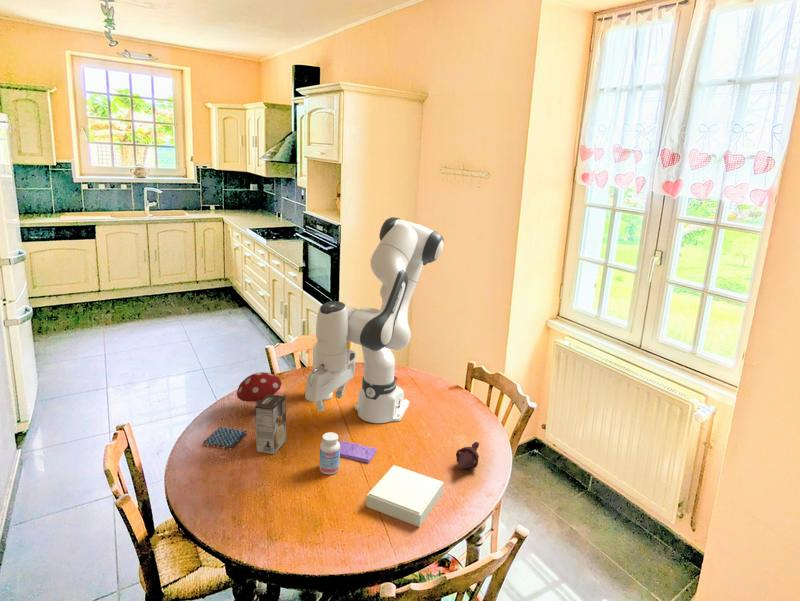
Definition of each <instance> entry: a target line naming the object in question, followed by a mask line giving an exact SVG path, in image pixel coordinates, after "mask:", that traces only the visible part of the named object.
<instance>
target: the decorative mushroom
mask: <svg viewBox="0 0 800 601" xmlns="http://www.w3.org/2000/svg"><path fill="white" fill-rule="evenodd" d="M282 384H283V383H282V381H281V378H280V377H279V376H277V375H275V374H273V373H271V372H263V371H261V372H256V373H252V374H250V375H249V376H246V378H244V380H242V381H241V382H240V384H239V385H238V387H237V389H236V390H237V391H236V395H237V396H236V398H238V400H240V401H242V402H247V403H248V402H249V403H250V402H251V403H252V402H256V405H257V404H258V403H259V402H260V401H261V400H262V399H263V398H264V397H265V396H266V395H267V394H272V395H276V393H278V391H279V390H280V389H281V387H282ZM256 405H255V406H256Z"/></svg>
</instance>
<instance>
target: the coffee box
mask: <svg viewBox="0 0 800 601" xmlns="http://www.w3.org/2000/svg"><path fill="white" fill-rule="evenodd" d="M286 403H287V399H286V395H280V394H279V395H278V394H274V395H272V394H267V395H266V396H265V397H264V398H263V399H262V400H261V401H260V402H259V403H258V404H257V405H255V406H254V417H255V420H254V421H255V438H256V439H255V441H256V443H255V444H256V452H258V453H264V454H271V455H275V454H276V453H277V452H278V451H279V449H280V448H281V447H282V446H283V444H284V443H285V442H286V441H287V412H286V411H287V408H286V407H287V406H286V405H287V404H286Z"/></svg>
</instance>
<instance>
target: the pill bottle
mask: <svg viewBox="0 0 800 601" xmlns="http://www.w3.org/2000/svg"><path fill="white" fill-rule="evenodd" d="M321 437H322V438H321V439H322V440H321V443H320V444H319V471H320V472H321V473H322V474H325V475H333V474H336V473H338V472H339V470H340V468H341V467H340V463H341V462H340V461H341V456H340V442H339V435H338V434H337V433H336V432H331V431H329V432H325V433H324V434H323V435H322V436H321Z"/></svg>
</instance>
